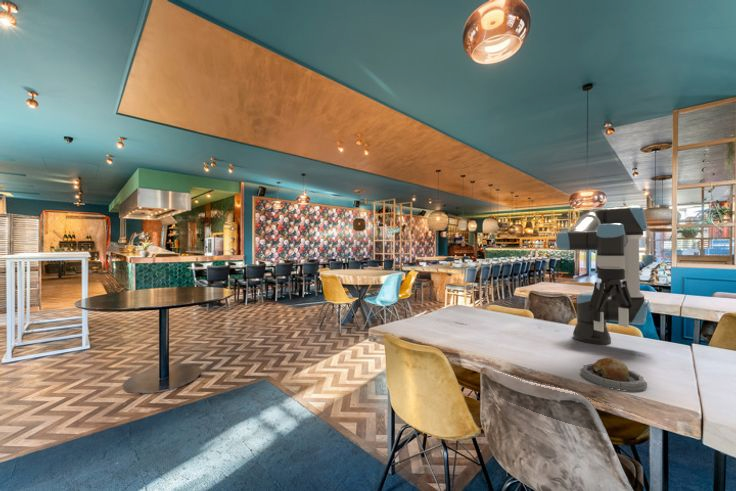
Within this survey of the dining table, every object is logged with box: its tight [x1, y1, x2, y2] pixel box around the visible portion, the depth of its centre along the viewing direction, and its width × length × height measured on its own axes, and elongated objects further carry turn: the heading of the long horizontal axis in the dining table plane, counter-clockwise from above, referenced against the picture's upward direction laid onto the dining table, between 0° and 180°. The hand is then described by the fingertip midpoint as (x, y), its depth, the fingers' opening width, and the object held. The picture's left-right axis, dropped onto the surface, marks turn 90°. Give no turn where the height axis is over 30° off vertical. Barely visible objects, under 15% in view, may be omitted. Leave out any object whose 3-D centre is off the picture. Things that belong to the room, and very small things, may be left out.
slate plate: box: [580, 363, 648, 392], centre depth 105 cm, size 18×18×2 cm
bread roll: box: [592, 357, 631, 382], centre depth 105 cm, size 10×10×8 cm
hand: (611, 328), depth 105 cm, fingers open, 13 cm apart
